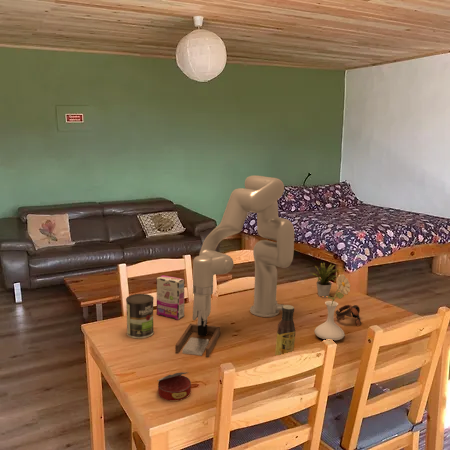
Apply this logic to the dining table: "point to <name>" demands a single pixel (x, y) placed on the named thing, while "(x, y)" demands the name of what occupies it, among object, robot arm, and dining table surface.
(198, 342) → the cover plate
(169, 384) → the canned food
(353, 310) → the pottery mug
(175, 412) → the dining table surface
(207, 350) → the brown u-shaped frame
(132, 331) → the coffee can
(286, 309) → the sauce bottle
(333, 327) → the flower in vase
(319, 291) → the house plant
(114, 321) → the dining table surface
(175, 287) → the candy bar box
